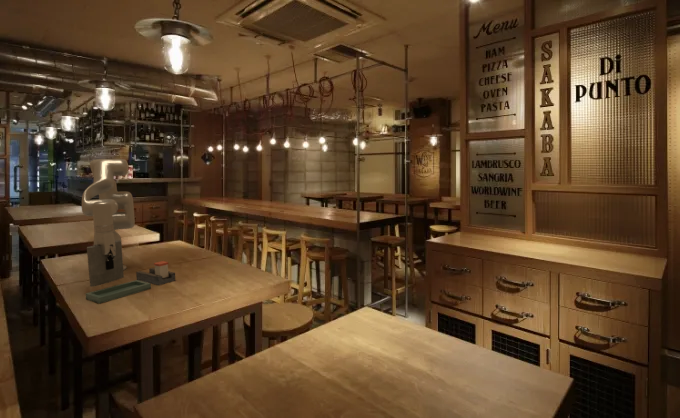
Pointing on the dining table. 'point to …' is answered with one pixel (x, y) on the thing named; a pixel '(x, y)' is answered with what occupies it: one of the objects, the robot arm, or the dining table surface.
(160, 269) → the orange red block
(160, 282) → the switch panel
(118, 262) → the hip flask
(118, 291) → the tray
